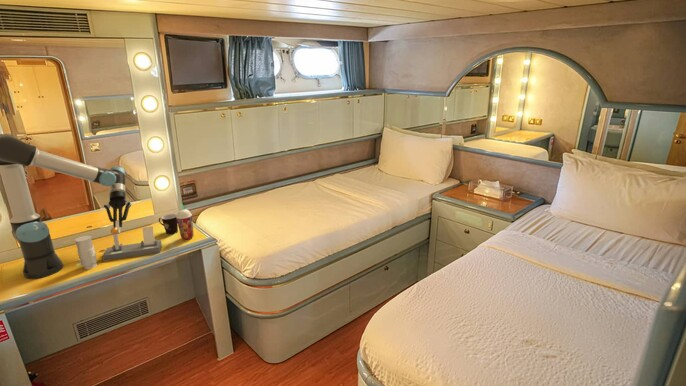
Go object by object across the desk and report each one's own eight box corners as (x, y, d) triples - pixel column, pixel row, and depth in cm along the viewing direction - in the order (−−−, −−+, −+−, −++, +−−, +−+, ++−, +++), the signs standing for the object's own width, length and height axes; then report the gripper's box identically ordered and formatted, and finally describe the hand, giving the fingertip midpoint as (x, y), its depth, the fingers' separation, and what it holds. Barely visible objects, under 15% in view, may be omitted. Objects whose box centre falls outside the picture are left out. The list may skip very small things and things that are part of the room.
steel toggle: (112, 250, 194) (109, 228, 192) (114, 247, 197) (110, 227, 195) (120, 248, 195) (116, 227, 193) (122, 246, 198) (118, 226, 196)
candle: (80, 271, 181) (73, 242, 177) (83, 265, 187) (75, 237, 183) (97, 267, 184) (90, 239, 179) (99, 261, 190) (92, 234, 186)
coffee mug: (182, 231, 225) (179, 216, 222) (168, 236, 219) (165, 220, 216) (173, 227, 233) (170, 211, 230) (159, 231, 226) (156, 215, 223)
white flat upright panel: (144, 244, 199) (142, 227, 200) (144, 244, 200) (142, 227, 201) (154, 243, 201) (152, 226, 202) (154, 243, 202) (153, 226, 203)
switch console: (103, 261, 191) (101, 251, 189) (108, 252, 200) (106, 243, 198) (159, 252, 199) (158, 243, 197) (161, 245, 208) (160, 235, 206)
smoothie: (197, 235, 220) (193, 202, 214) (191, 241, 212) (185, 207, 206) (184, 234, 220) (179, 202, 215) (176, 240, 213) (171, 207, 207)
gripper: (132, 194, 212) (133, 233, 202) (106, 197, 208) (106, 237, 198) (129, 188, 206) (129, 228, 196) (101, 191, 202) (101, 232, 192)
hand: (117, 232), depth 197 cm, fingers closed
